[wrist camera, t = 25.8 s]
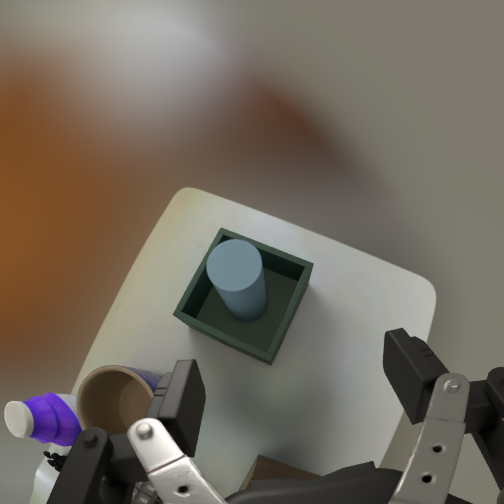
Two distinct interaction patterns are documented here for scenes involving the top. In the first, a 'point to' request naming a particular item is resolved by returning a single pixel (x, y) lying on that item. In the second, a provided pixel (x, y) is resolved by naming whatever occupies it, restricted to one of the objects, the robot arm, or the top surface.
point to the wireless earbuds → (56, 460)
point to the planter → (115, 398)
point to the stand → (274, 471)
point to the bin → (278, 302)
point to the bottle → (45, 418)
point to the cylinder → (239, 278)
